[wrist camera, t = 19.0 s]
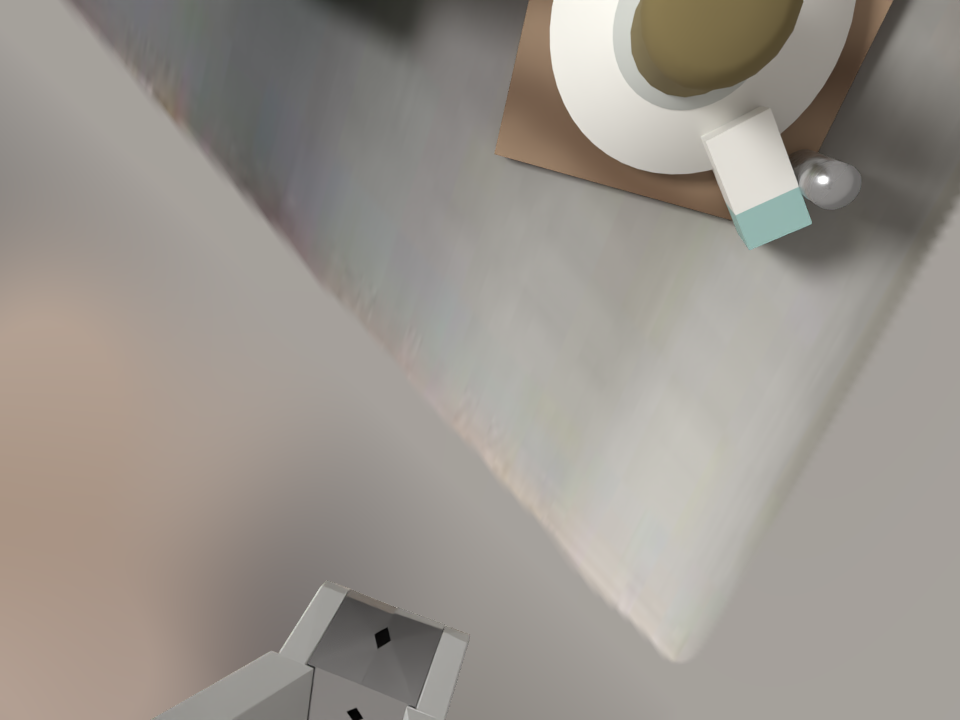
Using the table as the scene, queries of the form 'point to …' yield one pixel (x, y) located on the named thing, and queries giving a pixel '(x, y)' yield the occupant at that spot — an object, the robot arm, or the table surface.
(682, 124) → the white oval plate
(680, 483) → the table surface
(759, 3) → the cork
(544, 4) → the wooden board
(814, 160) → the dowel
